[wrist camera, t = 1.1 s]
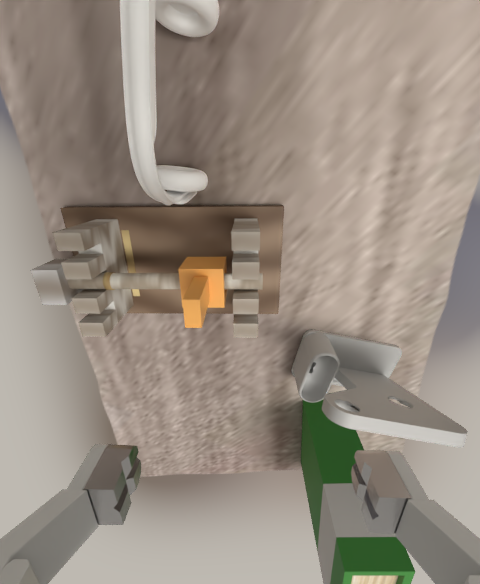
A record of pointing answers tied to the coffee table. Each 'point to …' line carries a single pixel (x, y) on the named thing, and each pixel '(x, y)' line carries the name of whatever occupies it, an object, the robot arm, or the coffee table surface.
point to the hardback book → (344, 509)
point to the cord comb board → (162, 261)
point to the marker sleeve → (201, 287)
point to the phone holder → (367, 389)
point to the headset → (142, 89)
